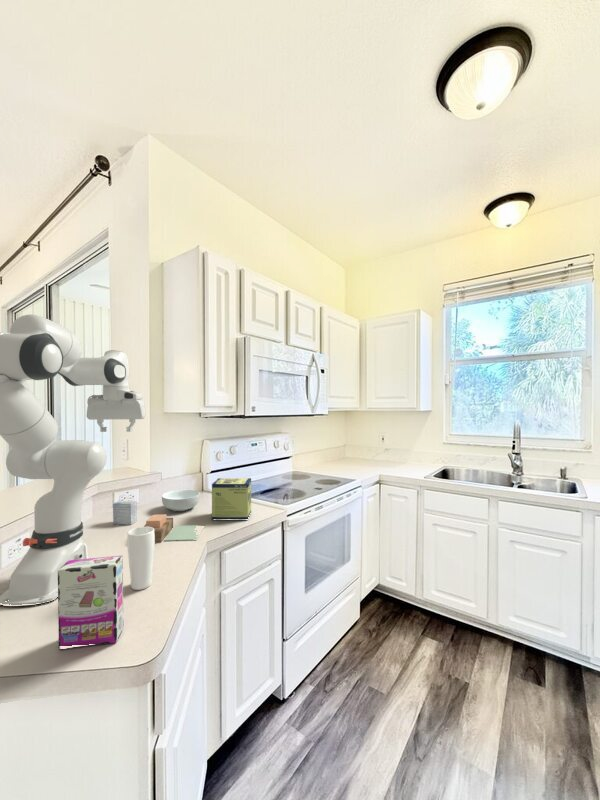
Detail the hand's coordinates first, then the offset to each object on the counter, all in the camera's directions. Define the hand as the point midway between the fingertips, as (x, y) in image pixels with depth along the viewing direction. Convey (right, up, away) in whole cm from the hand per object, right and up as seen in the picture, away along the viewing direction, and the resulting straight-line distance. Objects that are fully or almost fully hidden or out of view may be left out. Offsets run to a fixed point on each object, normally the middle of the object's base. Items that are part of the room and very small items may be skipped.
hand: (116, 431), depth 130 cm
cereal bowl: (+14, -39, +31) cm, 51 cm away
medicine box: (-3, -39, +13) cm, 41 cm away
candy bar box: (+25, -39, -57) cm, 73 cm away
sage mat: (+26, -39, +1) cm, 46 cm away
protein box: (+39, -39, +20) cm, 59 cm away
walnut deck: (+15, -39, 0) cm, 41 cm away
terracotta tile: (+15, -35, 0) cm, 38 cm away
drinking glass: (+26, -39, -36) cm, 59 cm away
